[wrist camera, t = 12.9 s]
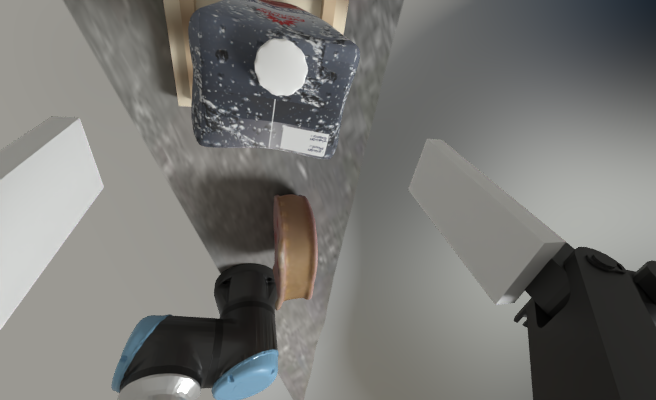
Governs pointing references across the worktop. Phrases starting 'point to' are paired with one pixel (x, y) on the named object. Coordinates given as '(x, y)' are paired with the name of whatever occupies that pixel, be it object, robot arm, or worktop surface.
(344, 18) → the square wooden tray
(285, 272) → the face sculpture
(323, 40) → the juice carton
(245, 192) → the worktop surface
